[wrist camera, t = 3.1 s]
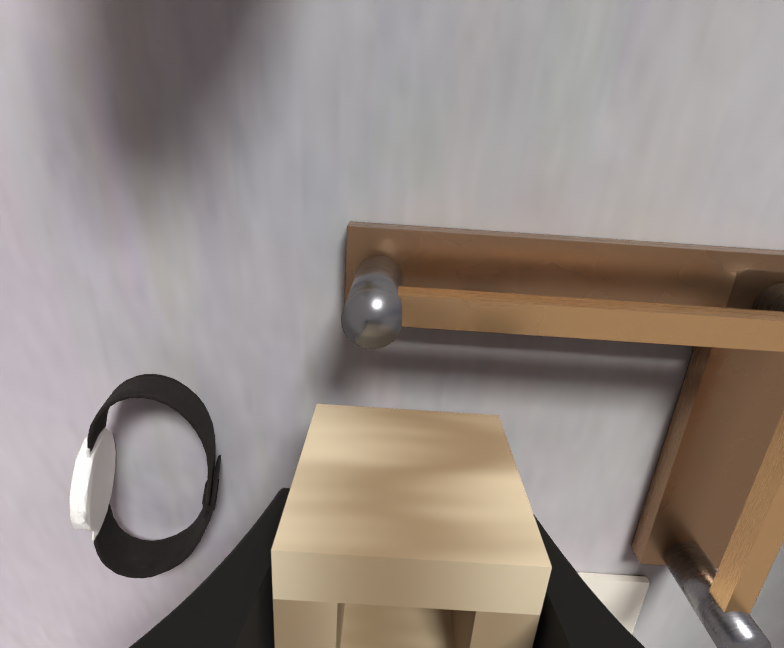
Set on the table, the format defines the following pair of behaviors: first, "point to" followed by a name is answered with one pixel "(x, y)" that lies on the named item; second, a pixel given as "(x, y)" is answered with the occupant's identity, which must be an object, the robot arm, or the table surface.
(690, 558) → the wooden rail
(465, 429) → the hollow wooden cube
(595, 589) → the coaster
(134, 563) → the watch
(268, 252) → the table surface
